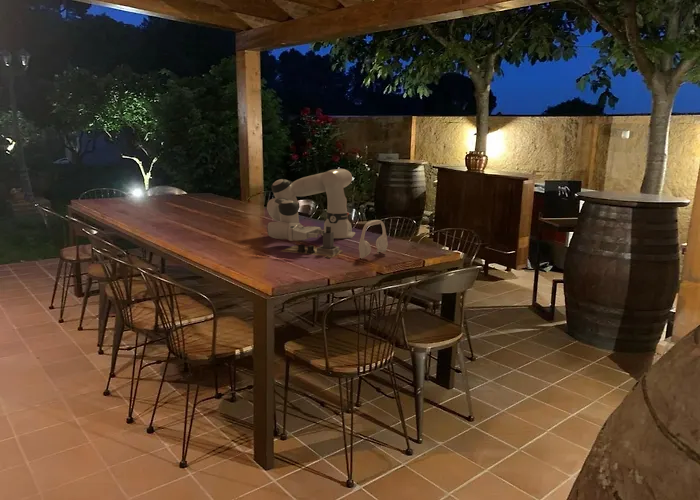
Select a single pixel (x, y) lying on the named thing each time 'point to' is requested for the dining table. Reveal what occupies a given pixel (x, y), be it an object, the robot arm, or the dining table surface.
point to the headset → (380, 242)
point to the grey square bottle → (328, 238)
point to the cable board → (314, 250)
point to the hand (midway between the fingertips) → (321, 234)
